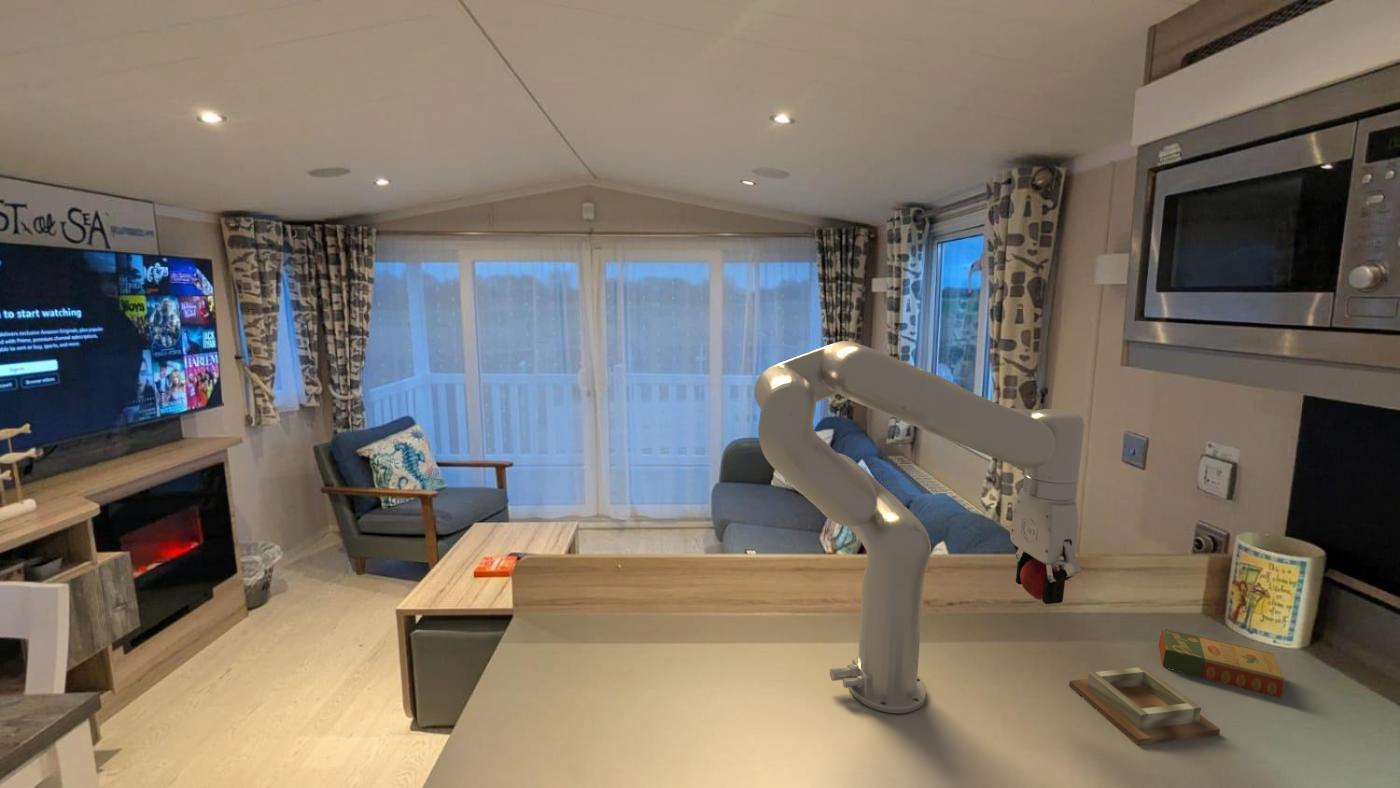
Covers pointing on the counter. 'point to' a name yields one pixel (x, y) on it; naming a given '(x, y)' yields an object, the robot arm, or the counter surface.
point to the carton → (1221, 662)
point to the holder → (1143, 706)
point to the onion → (1034, 577)
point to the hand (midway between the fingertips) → (1038, 591)
